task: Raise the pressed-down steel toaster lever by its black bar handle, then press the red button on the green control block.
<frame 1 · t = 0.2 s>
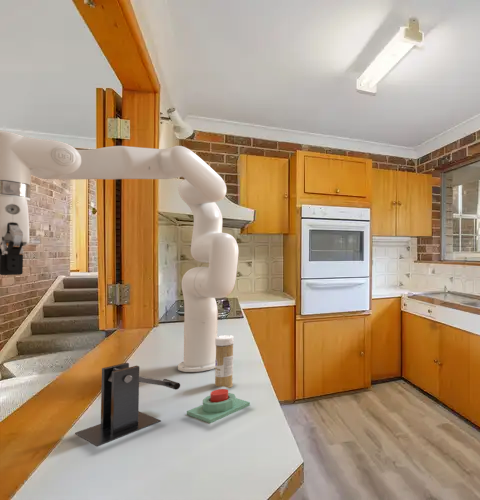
hand: (2, 274, 72), 31 cm above the counter, tool pointing down, fingers open, 9 cm apart
cancel button: (219, 395, 77), point 4 cm above the counter, slide at 0.1 cm
sprinkles bottle: (223, 388, 93), on the counter
control block: (219, 414, 77), on the counter
lever bracket: (119, 432, 69), on the counter
toaster lever: (145, 380, 73), point 9 cm above the counter, hinge at -25.0°
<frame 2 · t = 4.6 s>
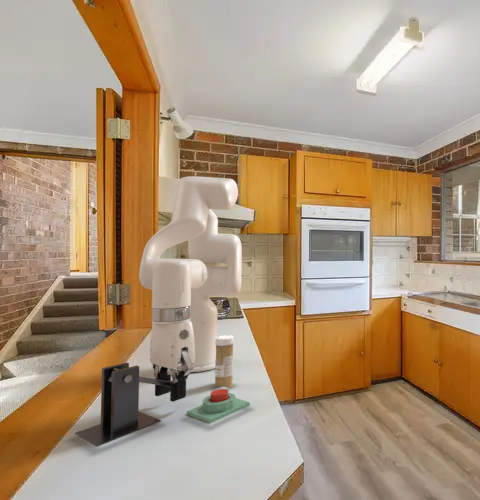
hand: (170, 395, 78), 4 cm above the counter, tool pointing down, fingers closed on toaster lever, 5 cm apart
toaster lever: (145, 380, 73), point 9 cm above the counter, hinge at -25.0°, touching gripper
everything else where it was.
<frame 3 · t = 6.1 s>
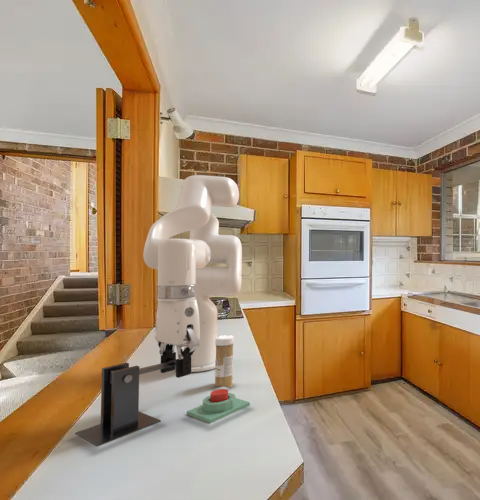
hand: (175, 372, 79), 9 cm above the counter, tool pointing down, fingers closed on toaster lever, 5 cm apart
toaster lever: (148, 369, 74), point 11 cm above the counter, hinge at -0.8°, touching gripper
everything else where it was.
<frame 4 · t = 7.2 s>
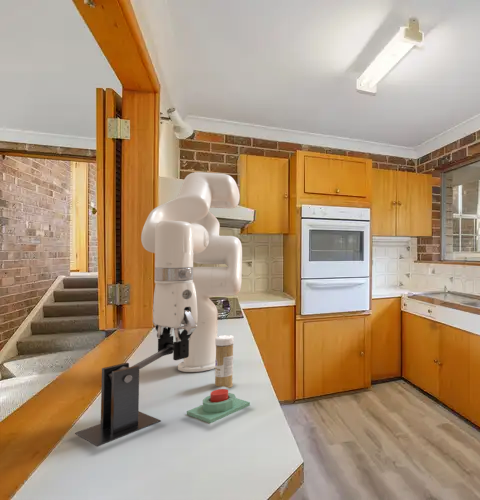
hand: (173, 355, 78), 12 cm above the counter, tool pointing down, fingers closed on toaster lever, 5 cm apart
toaster lever: (146, 361, 73), point 13 cm above the counter, hinge at 18.6°, touching gripper
everything else where it was.
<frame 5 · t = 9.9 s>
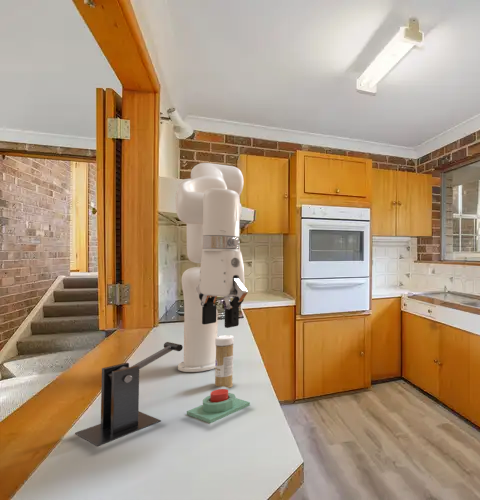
hand: (220, 324, 78), 20 cm above the counter, tool pointing down, fingers open, 6 cm apart
toaster lever: (146, 361, 73), point 13 cm above the counter, hinge at 19.2°
everything else where it was.
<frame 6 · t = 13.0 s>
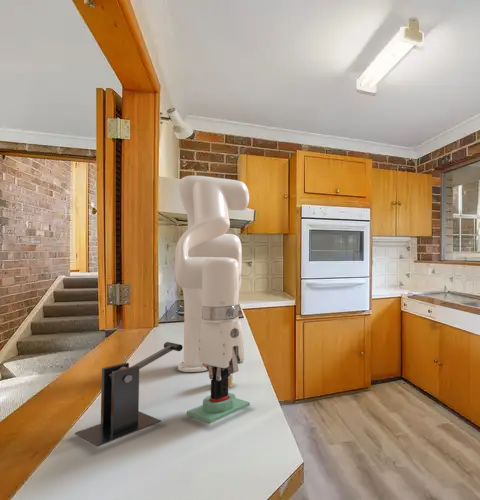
hand: (219, 396, 77), 4 cm above the counter, tool pointing down, fingers closed
cancel button: (219, 400, 77), point 3 cm above the counter, slide at -0.9 cm, touching gripper
everything else where it was.
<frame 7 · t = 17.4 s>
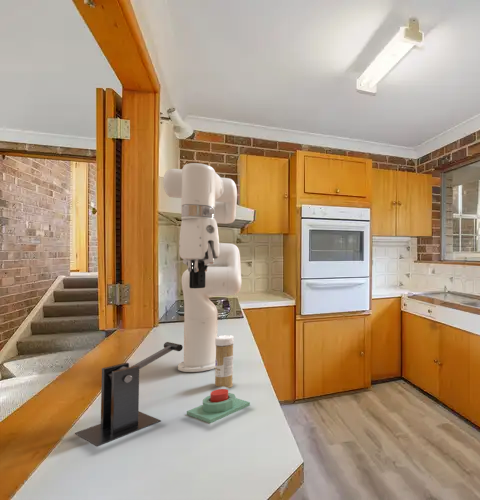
hand: (197, 287, 87), 27 cm above the counter, tool pointing down, fingers closed
cancel button: (219, 395, 77), point 4 cm above the counter, slide at 0.1 cm
everything else where it was.
at the end: toaster lever at +19° (first picture: -25°); cancel button pushed in 1.1 cm at the most during the clip and back out by the end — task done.
